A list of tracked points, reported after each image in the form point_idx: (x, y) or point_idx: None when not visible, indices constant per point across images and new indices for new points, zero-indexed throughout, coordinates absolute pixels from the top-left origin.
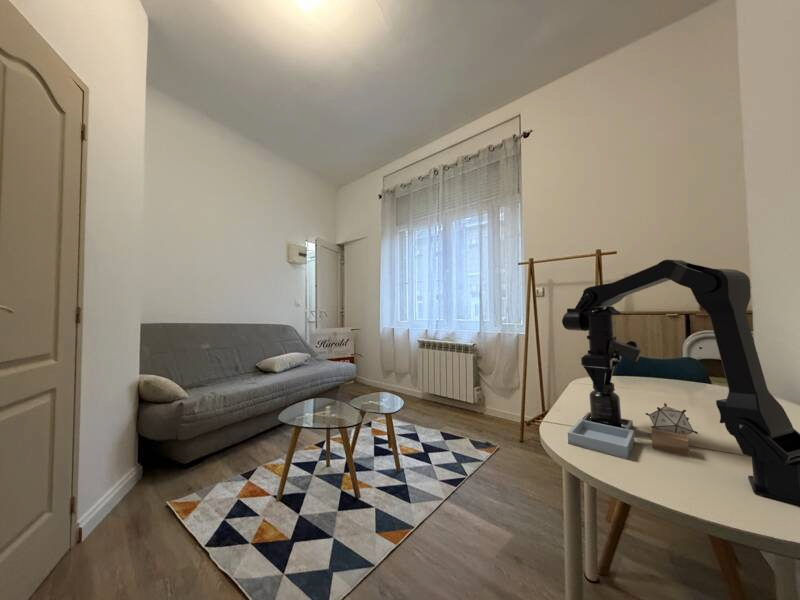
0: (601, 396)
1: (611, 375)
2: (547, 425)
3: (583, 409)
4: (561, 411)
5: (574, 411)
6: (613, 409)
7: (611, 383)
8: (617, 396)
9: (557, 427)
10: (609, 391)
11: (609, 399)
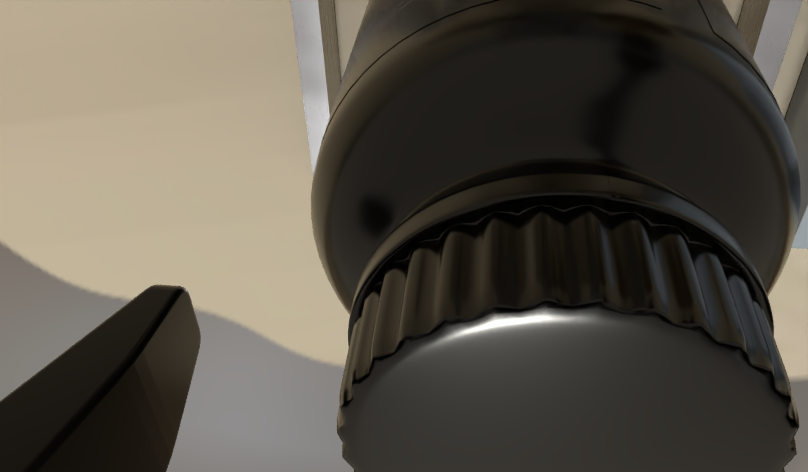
0: (774, 278)
1: (30, 464)
2: (787, 373)
3: (123, 237)
4: (336, 350)
5: (251, 282)
6: (725, 11)
7: (554, 343)
8: (617, 58)
9: (803, 319)
10: (743, 247)
11: (789, 149)
